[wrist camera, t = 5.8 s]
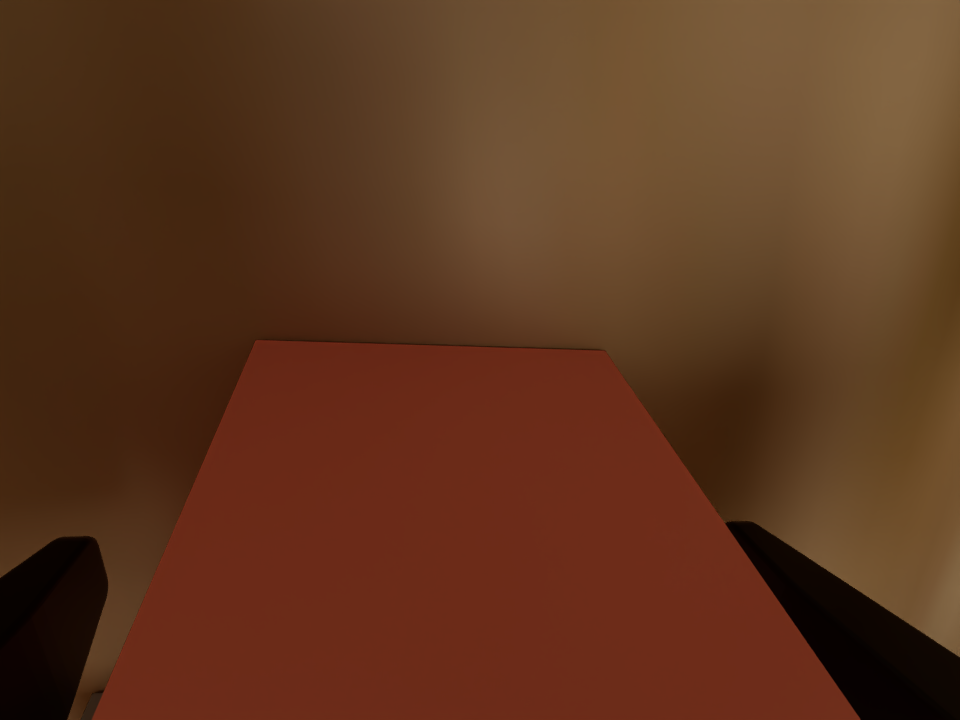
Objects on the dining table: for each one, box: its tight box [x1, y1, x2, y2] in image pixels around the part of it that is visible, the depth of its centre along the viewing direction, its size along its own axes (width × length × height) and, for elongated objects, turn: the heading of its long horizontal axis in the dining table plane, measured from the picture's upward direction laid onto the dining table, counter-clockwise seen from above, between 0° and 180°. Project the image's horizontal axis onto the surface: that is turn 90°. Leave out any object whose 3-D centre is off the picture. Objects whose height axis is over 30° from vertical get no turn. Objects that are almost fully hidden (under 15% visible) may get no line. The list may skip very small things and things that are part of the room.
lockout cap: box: [92, 340, 861, 720], centre depth 7 cm, size 5×5×6 cm
